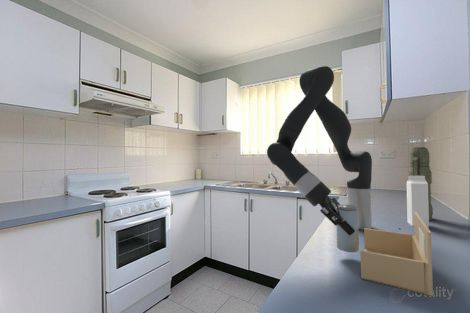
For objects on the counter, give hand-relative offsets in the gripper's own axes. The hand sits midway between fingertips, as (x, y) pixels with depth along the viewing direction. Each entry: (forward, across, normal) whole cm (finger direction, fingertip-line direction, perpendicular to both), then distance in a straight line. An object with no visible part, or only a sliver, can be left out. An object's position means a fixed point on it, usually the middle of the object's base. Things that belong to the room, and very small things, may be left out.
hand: (353, 229), depth 67 cm
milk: (+22, +52, -8) cm, 57 cm away
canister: (+3, 0, +5) cm, 6 cm away
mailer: (+13, 0, 0) cm, 13 cm away
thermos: (+24, +67, -10) cm, 72 cm away
